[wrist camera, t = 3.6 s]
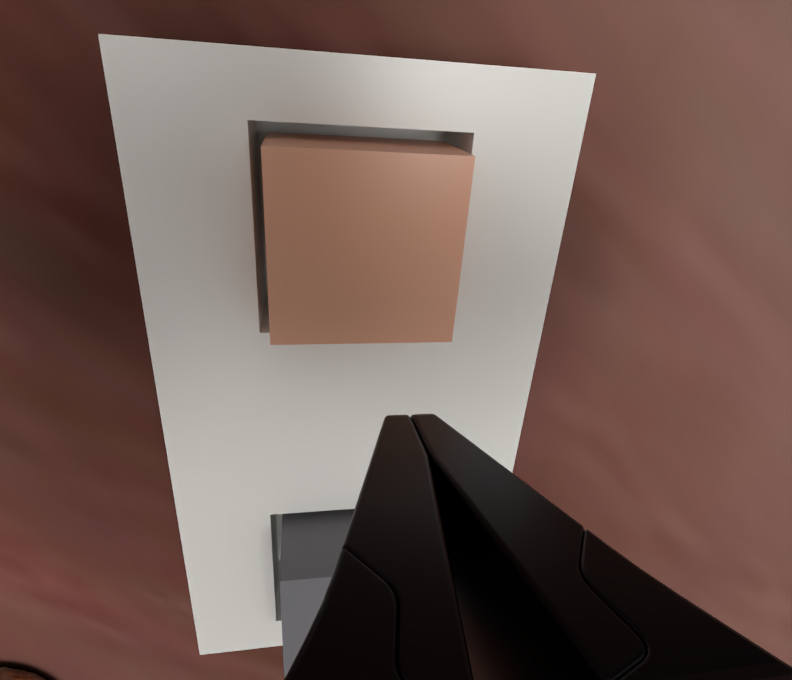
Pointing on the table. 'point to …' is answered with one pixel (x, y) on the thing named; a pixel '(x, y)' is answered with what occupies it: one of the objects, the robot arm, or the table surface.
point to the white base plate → (248, 292)
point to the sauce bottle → (17, 674)
